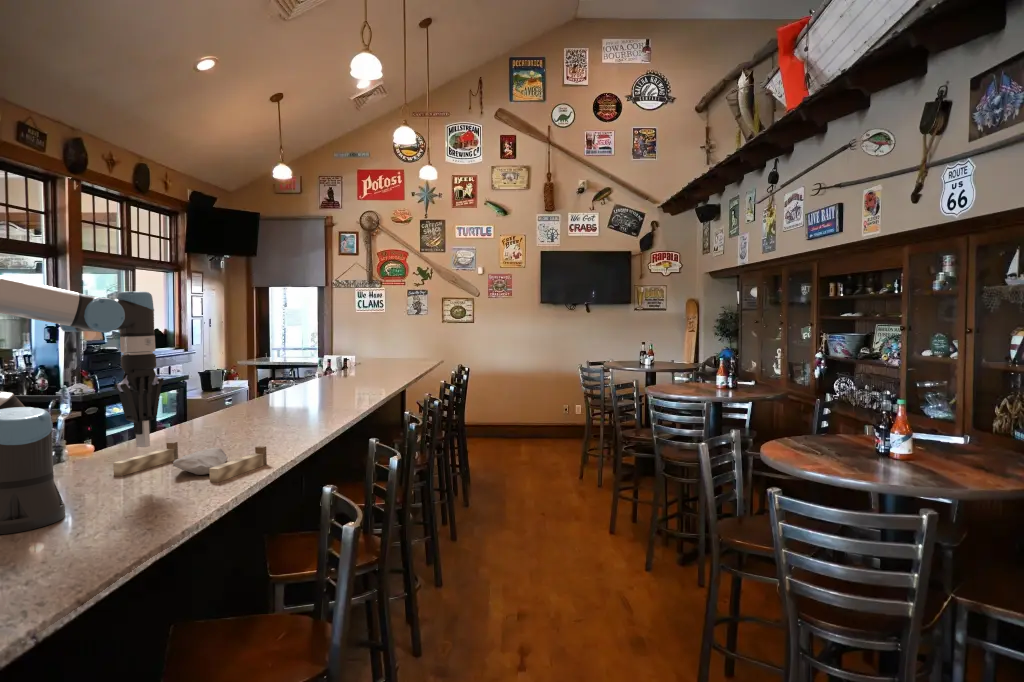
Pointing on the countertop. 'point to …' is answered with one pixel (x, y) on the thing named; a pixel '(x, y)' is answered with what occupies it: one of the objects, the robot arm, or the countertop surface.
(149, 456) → the rails
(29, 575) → the countertop surface
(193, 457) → the stone
